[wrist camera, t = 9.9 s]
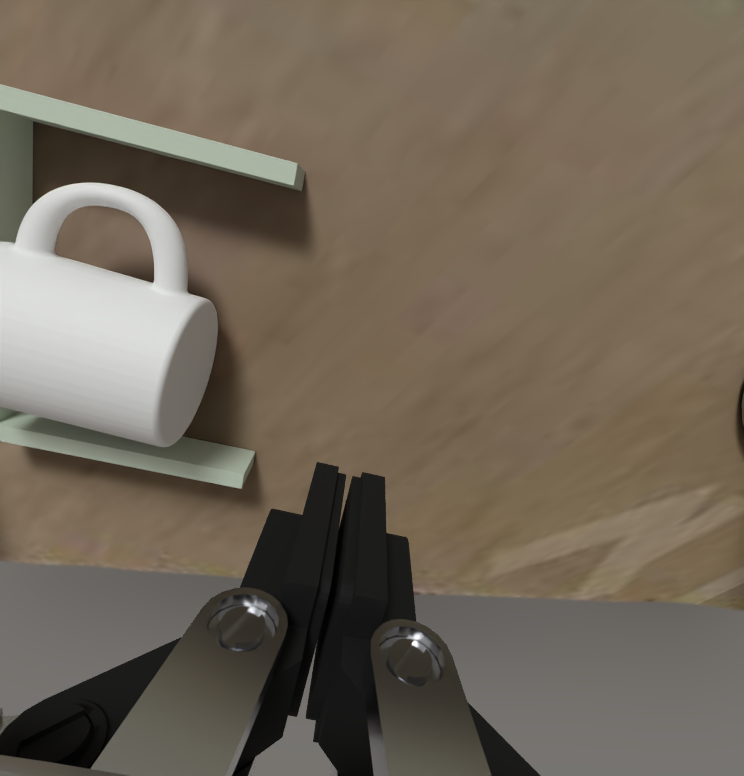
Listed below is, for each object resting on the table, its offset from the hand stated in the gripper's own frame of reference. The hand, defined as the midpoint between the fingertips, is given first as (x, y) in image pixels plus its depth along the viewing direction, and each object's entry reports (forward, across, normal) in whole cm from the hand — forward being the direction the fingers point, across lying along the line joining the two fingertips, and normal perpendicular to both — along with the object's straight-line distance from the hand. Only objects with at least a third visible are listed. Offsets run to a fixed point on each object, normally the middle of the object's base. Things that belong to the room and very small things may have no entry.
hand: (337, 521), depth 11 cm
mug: (+17, +13, 0) cm, 22 cm away
